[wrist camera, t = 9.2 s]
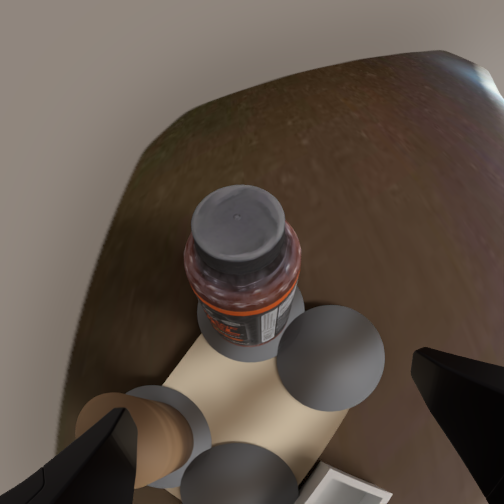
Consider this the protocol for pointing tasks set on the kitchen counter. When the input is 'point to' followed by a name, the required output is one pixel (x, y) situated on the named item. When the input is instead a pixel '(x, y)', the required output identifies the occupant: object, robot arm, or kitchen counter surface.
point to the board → (249, 408)
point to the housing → (339, 488)
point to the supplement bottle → (243, 263)
